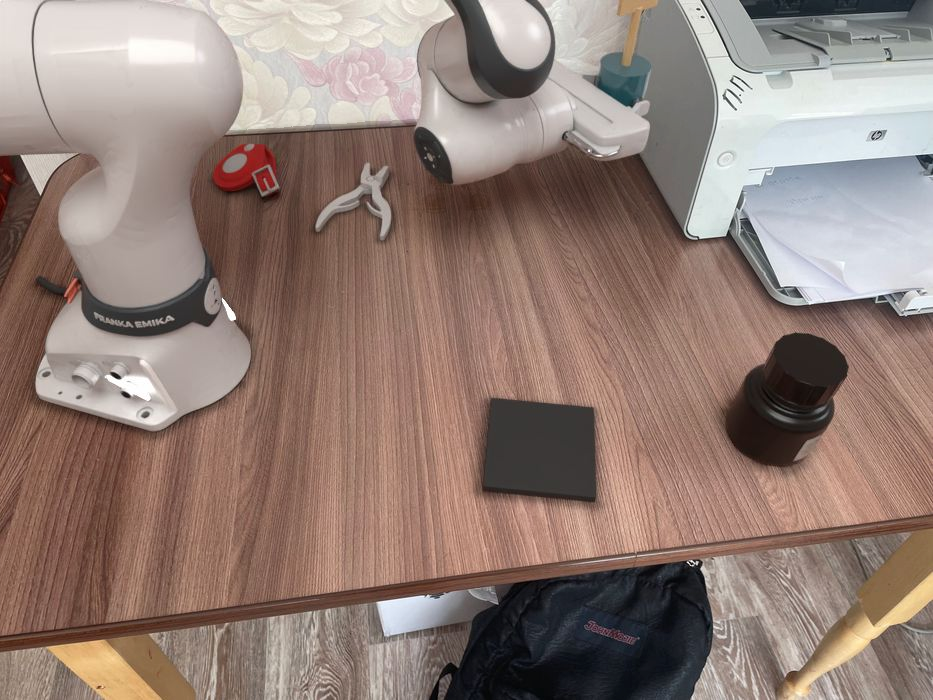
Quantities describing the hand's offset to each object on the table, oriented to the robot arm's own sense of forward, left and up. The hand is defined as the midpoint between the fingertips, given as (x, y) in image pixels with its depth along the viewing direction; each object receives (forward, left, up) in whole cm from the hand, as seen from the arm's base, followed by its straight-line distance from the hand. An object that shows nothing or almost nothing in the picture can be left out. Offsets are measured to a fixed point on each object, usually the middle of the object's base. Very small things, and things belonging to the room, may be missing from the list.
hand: (624, 91), depth 92 cm
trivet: (-8, -46, -16) cm, 50 cm away
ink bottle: (+16, -41, -16) cm, 47 cm away
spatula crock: (-1, -1, -6) cm, 6 cm away
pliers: (-34, -7, -16) cm, 38 cm away
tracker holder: (-51, -5, -16) cm, 54 cm away
